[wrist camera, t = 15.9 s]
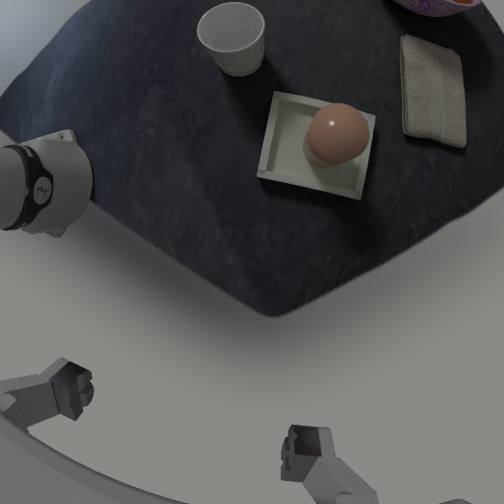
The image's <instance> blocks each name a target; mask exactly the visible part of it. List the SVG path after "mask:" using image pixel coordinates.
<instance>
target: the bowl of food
mask: <svg viewBox="0 0 504 504" xmlns="http://www.w3.org/2000/svg"><path fill="white" fill-rule="evenodd" d="M393 1H395V2H396V3H398V4H399V5H401V6H402V7H404V8H406V9H408V10H410V11H412V12H415V13H417V14H421V15H425V16H430V17H444V16H448V15H451V14H454V13H457V12H460V11H463V10H466V9H469V8H471V7H474V6H476V5H478V4H480V3H481V0H393Z"/></svg>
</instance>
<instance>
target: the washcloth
mask: <svg viewBox="0 0 504 504" xmlns="http://www.w3.org/2000/svg"><path fill="white" fill-rule="evenodd" d="M400 39H401V40H400V41H401V43H400V44H401V45H400V50H401V51H400V69H401V87H402V126H403V132H404V134H405V135H408V136H412V137H418V138H430V139H433V140H437V141H439V142H440V143H443V144H447V145H451V146H455V147H459V148H464V147H465V145H466V142H467V140H466V135H467V134H466V107H465V102H466V101H465V93H464V84H463V75H462V64H461V59H460V57H459V55H457V54H456V53H455V52H454V51H453V50H452V49H446V48H443V47H440V46H438V45H436V44H433V43H430V42H427V41H425V40H423V39H420V38H417V37H414V36H410V35H408V34H406V36H401V38H400Z"/></svg>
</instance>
